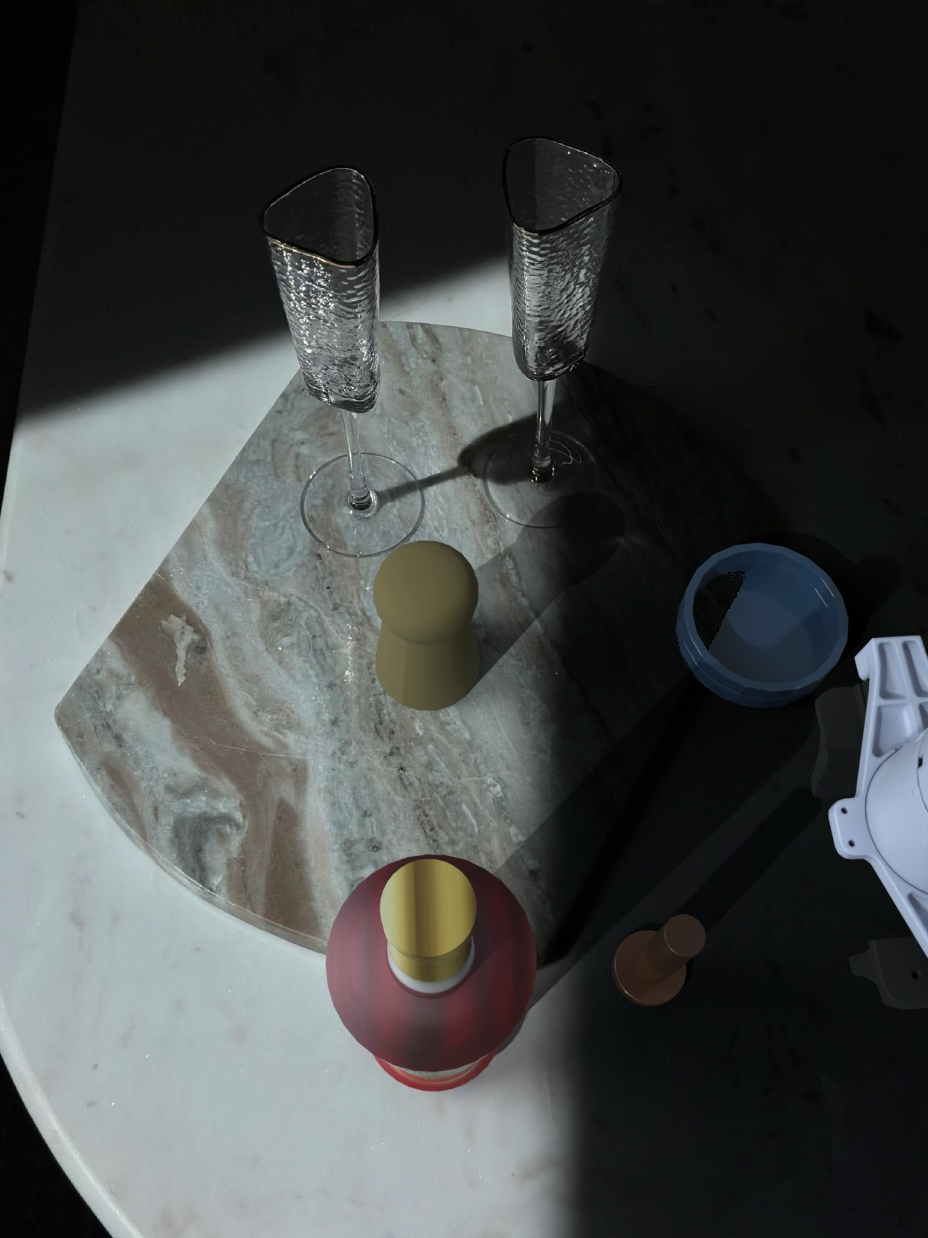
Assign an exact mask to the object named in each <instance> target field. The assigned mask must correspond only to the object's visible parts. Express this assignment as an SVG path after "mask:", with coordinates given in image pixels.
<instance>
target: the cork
mask: <svg viewBox="0 0 928 1238" xmlns="http://www.w3.org/2000/svg"><path fill="white" fill-rule="evenodd" d="M372 589H373V590H372V599H373V603H374V606H375V610H376V613H377V616H378V618H379V619H380V620H381V627H380V631H379V635H378V640H377V646H376V651H375V666H374V669H375V672H376V676H377V679H378V682H379V684H380V686H381V687H382V688H383V690H384V691H385V693H386V694H387V695H388V696H389V697H390V698H391V699H393V700H394V701H395V702H397V703H398V704H400V705H401V706H403V707H406V708H409V709H412V710H416V711H425V712H426V711H428V712H429V711H430V712H434V711H435V712H436V711H438V710H442V709H446V708H449V707H452V706H453V705H455V704H457V703H458V702H460V701H461V700H462V699H464V698H466V696H467V695H468V694H469V693H470V691H471V690H472V689H473V688H474V686H476V682H477V679H478V677H479V674H480V671H481V652H480V649H479V646H478V641H477V637H476V633H475V629H474V626H473V623H472V619H473V617H474V616H475V615H474V614H475V612H476V610H477V607H478V604H479V580H478V578H477V576H476V573H475V569H474V567H473V566H472V564H471V562H470V561H469V560H468V559H467V557H466V556H465V555H464V554H463V553H462V552H460V551H459V550H457V549H456V548H454V547H453V546H452V545H450V544H447V543H444V542H441V541H437V540H425V539H424V540H423V539H422V540H420V539H419V540H415V541H412V542H408V543H404V544H402V545H401V546H399V547H397V548H396V549H394V550H393V551H392V550H391V552H390V553H389V554H388V555H387V556H386V557H385V558H384V560H382V562H381V563H380V565H379V568H378V570H377V572H376V574H375V577H374V580H373V588H372Z"/></svg>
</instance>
